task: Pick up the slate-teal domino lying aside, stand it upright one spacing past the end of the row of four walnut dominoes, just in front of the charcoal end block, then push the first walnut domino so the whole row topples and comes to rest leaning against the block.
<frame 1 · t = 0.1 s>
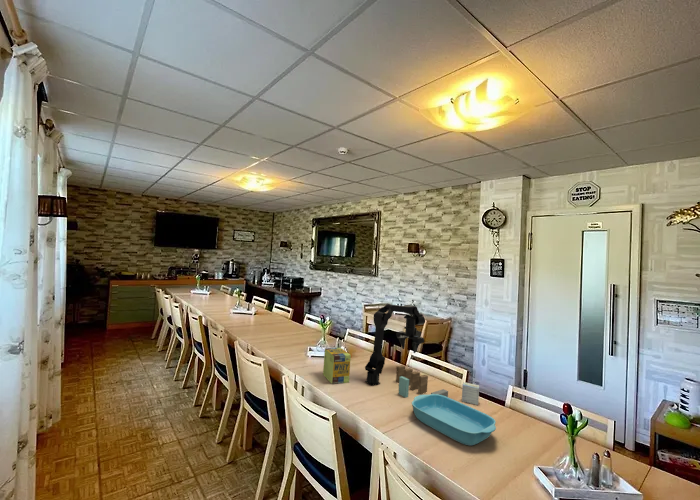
hand: (408, 351, 195), 15 cm above the table, tool pointing down, fingers open, 9 cm apart
casserole dish: (450, 427, 136), on the table
end block: (439, 400, 161), on the table
domino 2: (407, 385, 179), on the table
domino 1: (400, 381, 183), on the table
medicine box: (470, 402, 162), on the table
protein box: (335, 378, 181), on the table
domino 3: (414, 388, 174), on the table
teal domino: (403, 395, 165), on the table
domino 4: (422, 392, 170), on the table
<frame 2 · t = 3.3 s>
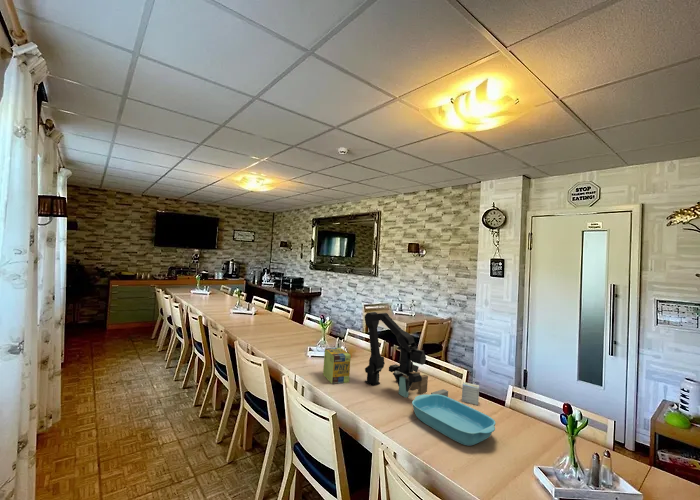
hand: (403, 389, 165), 3 cm above the table, tool pointing down, fingers closed on teal domino, 5 cm apart
teal domino: (403, 395, 165), on the table, touching gripper
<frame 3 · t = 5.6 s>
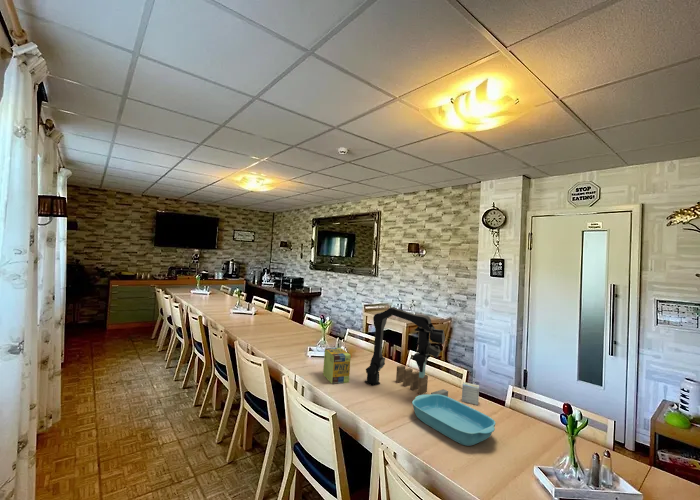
hand: (422, 370, 165), 13 cm above the table, tool pointing down, fingers closed on teal domino, 5 cm apart
teal domino: (422, 376, 165), point 10 cm above the table, touching gripper
everything else where it was.
when the fingers open (4 cm above the table, at t = 8.2 s): teal domino stays where it is, on the table.
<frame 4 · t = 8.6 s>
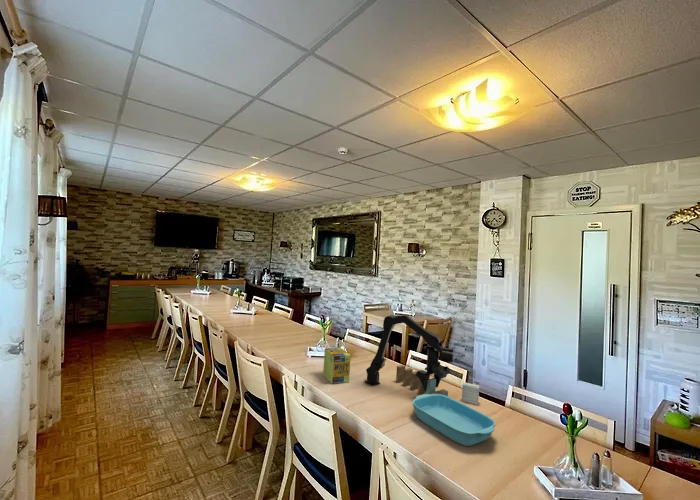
hand: (430, 389, 165), 4 cm above the table, tool pointing down, fingers open, 9 cm apart
teal domino: (430, 396, 165), on the table
everything else where it was.
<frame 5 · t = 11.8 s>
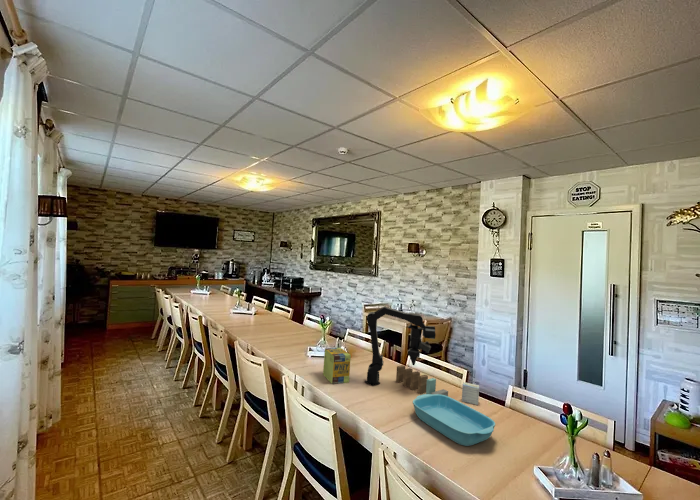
hand: (413, 365, 176), 13 cm above the table, tool pointing down, fingers closed
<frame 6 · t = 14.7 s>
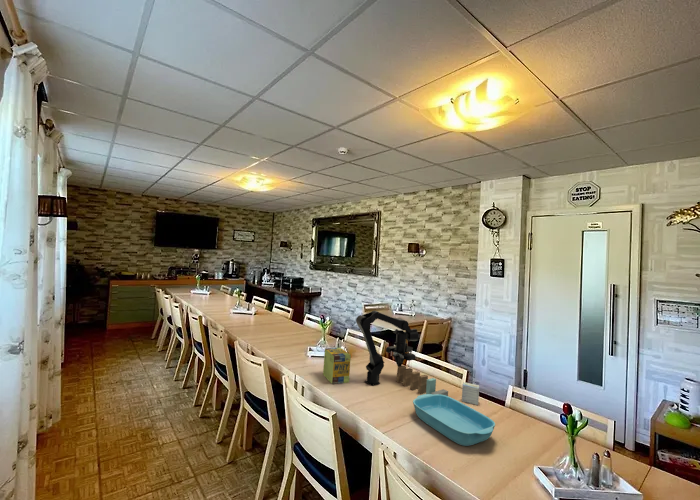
hand: (399, 367, 184), 8 cm above the table, tool pointing down, fingers closed
domino 1: (400, 381, 183), on the table, touching gripper
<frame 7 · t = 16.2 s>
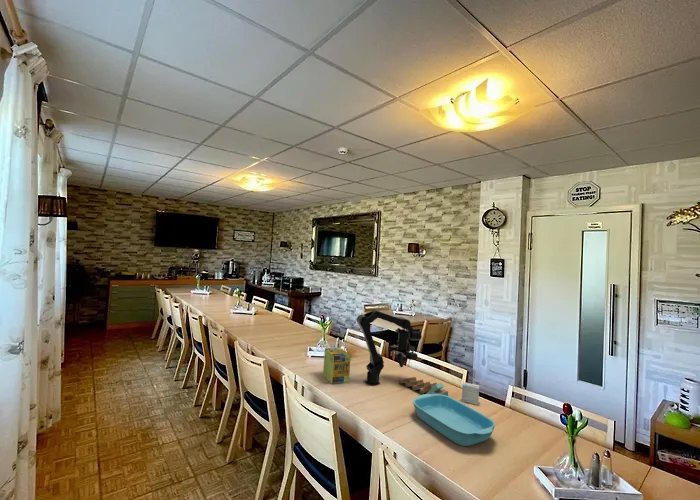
hand: (401, 367, 183), 8 cm above the table, tool pointing down, fingers closed
domino 2: (408, 384, 178), point 1 cm above the table, tilted 63°, touching domino 1, domino 3
domino 1: (402, 381, 182), point 1 cm above the table, tilted 66°, touching domino 2
domino 3: (415, 387, 173), point 1 cm above the table, tilted 59°, touching domino 2, domino 4
teal domino: (430, 394, 165), point 1 cm above the table, tilted 39°, touching domino 4, end block
domino 4: (423, 391, 169), point 1 cm above the table, tilted 49°, touching domino 3, teal domino
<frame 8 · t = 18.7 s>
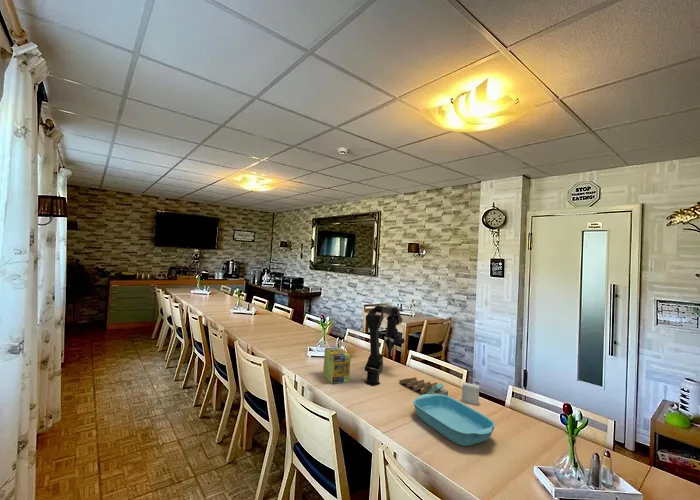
hand: (389, 351, 197), 13 cm above the table, tool pointing down, fingers closed
domino 2: (409, 384, 177), point 1 cm above the table, tilted 62°, touching domino 3
domino 1: (402, 381, 182), point 1 cm above the table, tilted 66°
at the end: teal domino tilted 41°; domino 4 tilted 47°; teal domino inside the target area (0.4 cm from its centre), point 1.0 cm above the table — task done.
